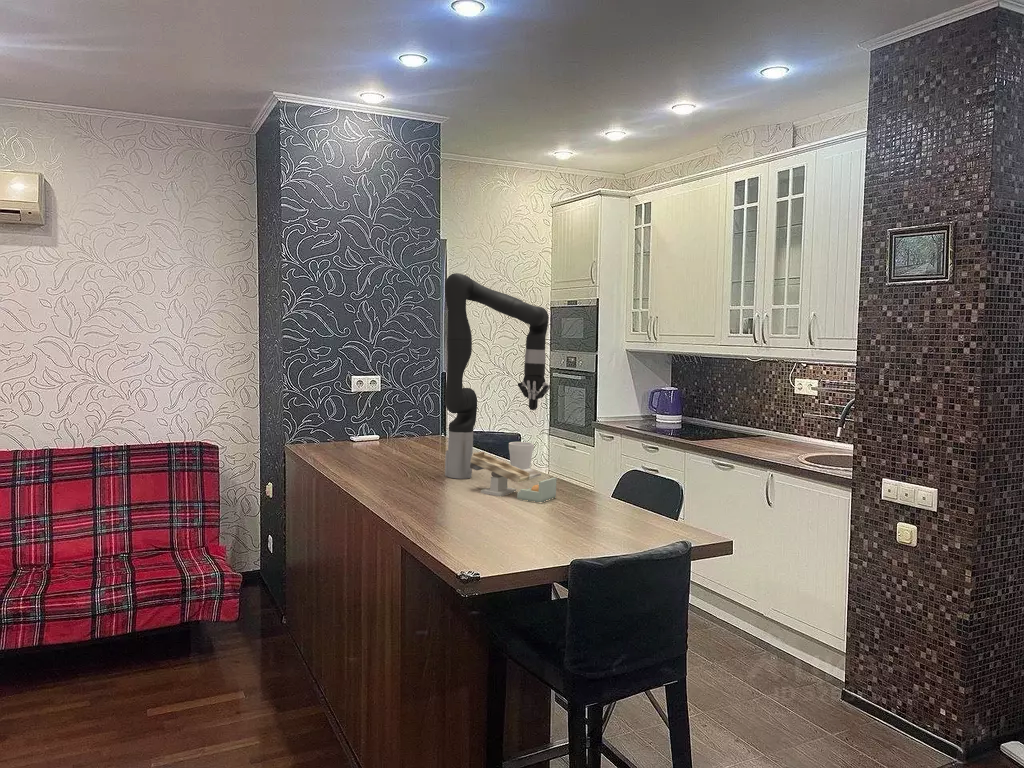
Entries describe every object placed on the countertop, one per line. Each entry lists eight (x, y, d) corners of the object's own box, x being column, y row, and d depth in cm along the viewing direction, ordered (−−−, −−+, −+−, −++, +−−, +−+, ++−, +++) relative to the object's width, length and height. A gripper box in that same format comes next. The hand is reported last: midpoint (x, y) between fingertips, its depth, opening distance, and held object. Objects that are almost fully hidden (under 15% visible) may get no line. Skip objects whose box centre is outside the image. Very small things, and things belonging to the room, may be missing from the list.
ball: (526, 490, 261) (534, 483, 260) (532, 488, 265) (540, 481, 263) (533, 500, 260) (541, 492, 258) (539, 498, 263) (547, 490, 262)
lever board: (468, 467, 272) (472, 453, 271) (492, 462, 284) (496, 448, 283) (516, 488, 262) (520, 473, 261) (539, 481, 274) (542, 467, 273)
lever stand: (480, 493, 268) (481, 476, 267) (496, 488, 276) (497, 472, 276) (500, 496, 263) (501, 480, 263) (516, 491, 272) (516, 475, 271)
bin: (517, 499, 260) (517, 478, 259) (532, 494, 268) (533, 474, 268) (540, 503, 255) (541, 482, 255) (555, 498, 264) (556, 477, 263)
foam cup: (518, 481, 290) (519, 446, 289) (502, 476, 297) (503, 442, 296) (537, 478, 296) (538, 444, 295) (521, 474, 303) (522, 441, 302)
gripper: (513, 361, 284) (512, 408, 286) (545, 363, 278) (543, 412, 279) (524, 360, 291) (522, 407, 292) (556, 362, 284) (553, 410, 285)
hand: (533, 409), depth 285 cm, fingers closed
